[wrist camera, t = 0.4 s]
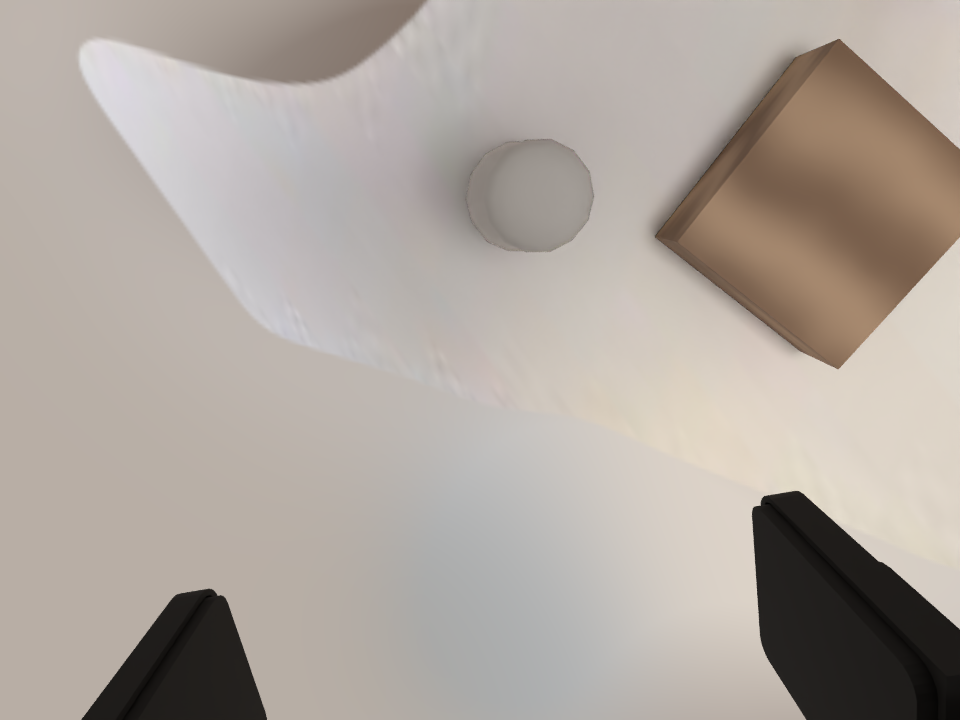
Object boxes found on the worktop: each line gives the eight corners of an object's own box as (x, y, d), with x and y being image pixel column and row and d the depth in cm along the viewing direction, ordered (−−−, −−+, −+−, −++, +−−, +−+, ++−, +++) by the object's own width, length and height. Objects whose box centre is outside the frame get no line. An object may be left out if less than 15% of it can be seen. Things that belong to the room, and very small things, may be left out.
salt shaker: (553, 257, 36) (595, 290, 23) (458, 237, 35) (450, 260, 23) (576, 155, 34) (636, 132, 21) (478, 134, 34) (481, 98, 21)
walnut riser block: (796, 57, 33) (839, 38, 29) (944, 190, 35) (1003, 189, 31) (654, 236, 35) (677, 241, 31) (800, 351, 37) (838, 369, 33)
